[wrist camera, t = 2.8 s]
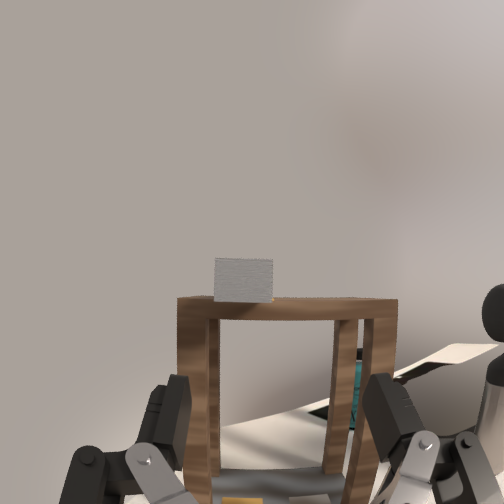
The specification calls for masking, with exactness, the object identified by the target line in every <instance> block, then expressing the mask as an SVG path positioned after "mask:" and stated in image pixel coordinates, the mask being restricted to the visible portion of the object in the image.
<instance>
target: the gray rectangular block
mask: <svg viewBox="0 0 504 504" xmlns="http://www.w3.org/2000/svg"><path fill="white" fill-rule="evenodd" d="M272 284H273V259H232V258H215V277H214V301H216V302H250V303H272Z"/></svg>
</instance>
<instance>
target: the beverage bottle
mask: <svg viewBox="0 0 504 504" xmlns="http://www.w3.org/2000/svg"><path fill="white" fill-rule="evenodd" d="M362 354H363V348H358V349H357V356H356V360H362ZM361 368H362V362H356V370H355V381H354V392H353V401H352V410H351V418H350V426H349V427H352V428H355V423H356V415H357V407H358V399H359V389H360V379H361Z"/></svg>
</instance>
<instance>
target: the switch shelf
mask: <svg viewBox="0 0 504 504" xmlns="http://www.w3.org/2000/svg"><path fill="white" fill-rule="evenodd" d="M220 319H229V320H334V345H333V364H332V377H331V390H330V391H331V392H330V401H329V412H328V421H327V430H326V439H325V447H324V454H323V462H322V467H311V468H297V469H274V470H245V469H221V464H220ZM358 319H364V338H363V354H362V368H361V379H360V389H359V399H358V407H357V415H356V423H355V430H354V436H353V443H352V449H351V455H350V460H349V466H348V471H347V476H346V479H345V478H344V476H343V474H342V470H343V464H344V458H345V452H346V446H347V440H348V433H349V426H350V418H351V410H352V401H353V392H354V381H355V370H356V356H357V340H358ZM397 320H398V300H397V299H375V298H354V297H353V298H350V297H348V298H272V303H250V302H216V301H214V296H193V297H182V298H177V375H185V376H188V377H189V383H190V390H191V396H192V410H191V416H190V422H189V428H188V434H187V440H186V447H185V453H184V459H183V477H184V487H185V488H186V489H187V490H188V491H189V492H190V493H191V494H192V495H193V497H194V498H195V499H196V501H197V502H198V503H199V504H368V502H369V499H370V496H371V492H372V488H373V485H374V481H375V477H376V473H377V469H378V465H379V460H380V458H379V455H378V452H377V449H376V446H375V443H374V440H373V437H372V434H371V431H370V428H369V425H368V422H367V419H366V416H365V413H364V410H363V407H362V396H363V393H364V391H365V389H366V386H367V384H368V381H369V379H370V376H371V375H372V374H376V373H384V372H388V373H389V374H390V376H391V378H392V380H393V375H394V364H395V353H396V339H397Z"/></svg>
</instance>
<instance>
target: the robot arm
mask: <svg viewBox="0 0 504 504" xmlns="http://www.w3.org/2000/svg"><path fill="white" fill-rule="evenodd" d="M482 321H483V325H484V328H485V330H486V332H487V333H488V335H489V336H490V337H491V338H492V339H493V340H495V341H498V342H504V284H500V285H498V286H495V287H494V288H493V289H491V291H490V292H489V293H488V295H487V296H486V298H485V300H484V303H483V307H482ZM362 407H363V410H364V413H365V416H366V419H367V422H368V425H369V428H370V431H371V434H372V437H373V440H374V443H375V446H376V449H377V452H378V455H379V458H380V462H381V463H383V462H387V461H390V464H391V466H390V467H389V469H388V471H387V473H386V475H385V477H384V479H383V482H382V484H381V486H380V488H379V490H378V492H377V494H376V495H375V497H374V499H373V501H372V502H371V503H370V504H426V503H427V500H428V498H429V495H430V492H431V489H432V491H433V494H434V498H435V501H436V504H504V498H503V496H502V493H501V490H500V488H499V485H498V483H497V480H496V478H495V475H496V474H498V473H500V472H502V471H503V470H504V353H503V354H502V355H501V356H499V357H497V358H496V359H494V360H493V361H492V362H491V363H490V364H489V366H488V368H487V374H486V381H485V386H484V392H483V397H482V402H481V407H480V412H479V416H478V420H477V424H476V428H475V431H474V433H472V432H468V431H464V432H461V433H460V434H458V436H457V437H456V438H455V439H440V438H438V437H437V436H436V435H435V434H434V433H432V432H430V431H426V430H425V428H424V426H423V424H422V422H421V419H420V417H419V415H418V413H417V411H416V409H415V407H414V406H413V403H412V401H411V399H410V398H409V395H408V393H407V391H406V389H405V388H404V387H403V386H402V385H401V384H400V383H399V382H393V380H392V378H391V376H390V374H389V373H388V372H384V373H376V374H372V375H371V376H370V379H369V381H368V384H367V386H366V389H365V391H364V393H363V396H362ZM191 410H192V396H191V390H190V383H189V377H188V376H185V375H174V374H171V375H170V377H169V381H168V384H167V386H165V385H158V386H157V387H156V388H155V389H154V390H153V391H152V392H151V395H150V398H149V402H148V405H147V408H146V412H145V414H144V418H143V421H142V424H141V428H140V431H139V435H138V438H137V441H136V442H135V444H134V445H132V446H131V447H130V448H129V449H127V450H125V451H120V452H106V453H105V452H104V453H103V452H102V451H101V450H100V449H99V448H97V447H94V446H83V447H81V448H79V449H77V450H76V451H75V453H74V455H73V457H72V461H71V464H70V467H69V470H68V473H67V477H66V480H65V484H64V487H63V491H62V494H61V498H60V502H59V504H124V497H125V495H137V494H145V496H146V498H147V499H148V501H149V503H150V504H199V503H198V502H197V501H196V499H195V498H194V497H193V495H192V494H191V493H190V492H189V491H188V490H187V489H186V488H185V487H184V486H183V485H182V483H181V482H180V480H179V479H178V478H177V476H176V475H175V473H174V472H175V471H182V466H183V459H184V453H185V447H186V440H187V434H188V428H189V422H190V416H191ZM429 481H430V483H429Z"/></svg>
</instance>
